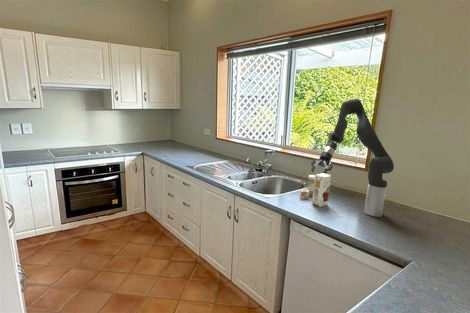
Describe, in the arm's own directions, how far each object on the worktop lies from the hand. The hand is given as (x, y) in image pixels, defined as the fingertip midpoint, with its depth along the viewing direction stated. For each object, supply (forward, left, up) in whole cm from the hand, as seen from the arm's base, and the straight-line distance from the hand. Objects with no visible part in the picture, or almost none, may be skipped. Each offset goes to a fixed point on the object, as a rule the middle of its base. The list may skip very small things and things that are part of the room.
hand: (317, 172), depth 181 cm
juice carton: (-7, +22, -14) cm, 27 cm away
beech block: (+4, +16, -14) cm, 22 cm away
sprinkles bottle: (+2, +8, -14) cm, 16 cm away
